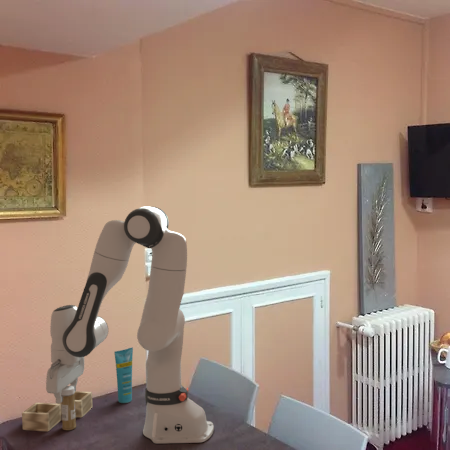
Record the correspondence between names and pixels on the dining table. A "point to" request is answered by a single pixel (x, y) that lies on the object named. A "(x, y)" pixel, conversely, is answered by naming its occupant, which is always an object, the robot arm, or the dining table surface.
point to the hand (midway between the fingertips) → (66, 397)
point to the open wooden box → (82, 403)
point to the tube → (124, 374)
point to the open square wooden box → (41, 416)
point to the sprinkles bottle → (68, 408)
